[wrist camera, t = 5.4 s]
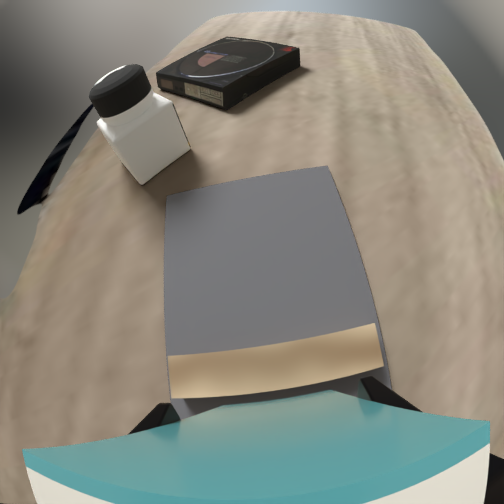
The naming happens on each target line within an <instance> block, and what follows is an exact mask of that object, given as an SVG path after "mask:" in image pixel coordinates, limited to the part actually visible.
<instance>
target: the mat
mask: <svg viewBox="0 0 504 504" xmlns="http://www.w3.org/2000/svg"><path fill="white" fill-rule="evenodd" d="M164 317H165V340H166V356H167V370H168V381H169V391H170V401H171V404H172V405H173V407H174V408H175V410H176V412H177V413H178V415H179V417H180V420H183V419H186V418H189V417H192V416H195V415H197V414H200V413H203V412H206V411H209V410H211V409H214V408H217V407H220V406H222V405H232V404H244V403H253V402H262V401H270V400H277V399H283V398H290V397H296V396H301V395H307V394H312V393H317V392H322V391H326V390H333V391H337V392H340V393H343V394H347V395H350V396H354V397H357V392H358V382H359V379H360V378H362V377H366V376H369V375H371V376H373V377H375V378H376V379H377V380H379V381H380V382H382V383H383V384H384V385H386V386H387V387H388V388H390V389H391V390H392V388H391V382H390V376H389V370H388V365H387V359H386V354H385V349H384V345H383V340H382V335H381V331H380V326H379V322H378V318H377V314H376V310H375V306H374V302H373V298H372V295H371V291H370V287H369V284H368V280H367V277H366V273H365V270H364V266H363V263H362V260H361V257H360V253H359V250H358V247H357V244H356V241H355V238H354V235H353V232H352V229H351V226H350V223H349V221H348V218H347V215H346V212H345V209H344V207H343V204H342V201H341V199H340V196H339V193H338V191H337V188H336V186H335V183H334V181H333V178H332V176H331V173H330V171H329V169H328V166H321V167H314V168H307V169H300V170H293V171H287V172H280V173H274V174H268V175H263V176H257V177H251V178H246V179H241V180H236V181H231V182H226V183H221V184H216V185H211V186H207V187H202V188H198V189H193V190H189V191H185V192H180V193H176V194H172V195H168V196H167V200H166V216H165V239H164ZM372 323H375V326H376V330H377V335H378V339H379V344H380V349H381V354H382V359H383V364H384V366H383V367H379V368H376V369H372V370H369V371H365V372H362V373H358V374H354V375H350V376H346V377H342V378H338V379H334V380H329V381H325V382H320V383H315V384H310V385H305V386H299V387H294V388H288V389H281V390H275V391H268V392H260V393H252V394H243V395H232V396H219V397H203V398H171V389H170V379H169V367H168V356H175V355H188V354H200V353H210V352H220V351H228V350H237V349H244V348H252V347H259V346H265V345H272V344H278V343H284V342H289V341H295V340H300V339H306V338H311V337H316V336H321V335H326V334H330V333H335V332H339V331H344V330H348V329H352V328H356V327H360V326H364V325H368V324H372Z"/></svg>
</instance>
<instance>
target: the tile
mask: <svg viewBox="0 0 504 504" xmlns="http://www.w3.org/2000/svg"><path fill="white" fill-rule="evenodd" d="M22 451H23V456H24V460H25V464H26V468H27V472H28V476H29V480H30V483H31V486H32V490H33V493H34V496H35V499H36V502H37V504H484V498H485V492H486V485H487V477H488V467H489V451H490V421H481V420H471V419H462V418H455V417H447V416H441V415H435V414H429V413H423V412H418V411H413V410H408V409H403V408H398V407H394V406H389V405H385V404H381V403H377V402H373V401H368V400H364V399H361V398H358V397H354V396H350V395H347V394H343V393H340V392H337V391H333V390H326V391H322V392H317V393H312V394H307V395H301V396H296V397H290V398H283V399H277V400H270V401H262V402H253V403H244V404H232V405H222V406H220V407H217V408H214V409H211V410H209V411H206V412H203V413H200V414H197V415H195V416H192V417H189V418H186V419H183V420H180V421H176V422H173V423H170V424H167V425H163V426H160V427H156V428H152V429H149V430H145V431H141V432H137V433H133V434H129V435H124V436H120V437H115V438H110V439H105V440H100V441H94V442H89V443H82V444H75V445H68V446H59V447H49V448H36V449H22Z"/></svg>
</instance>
